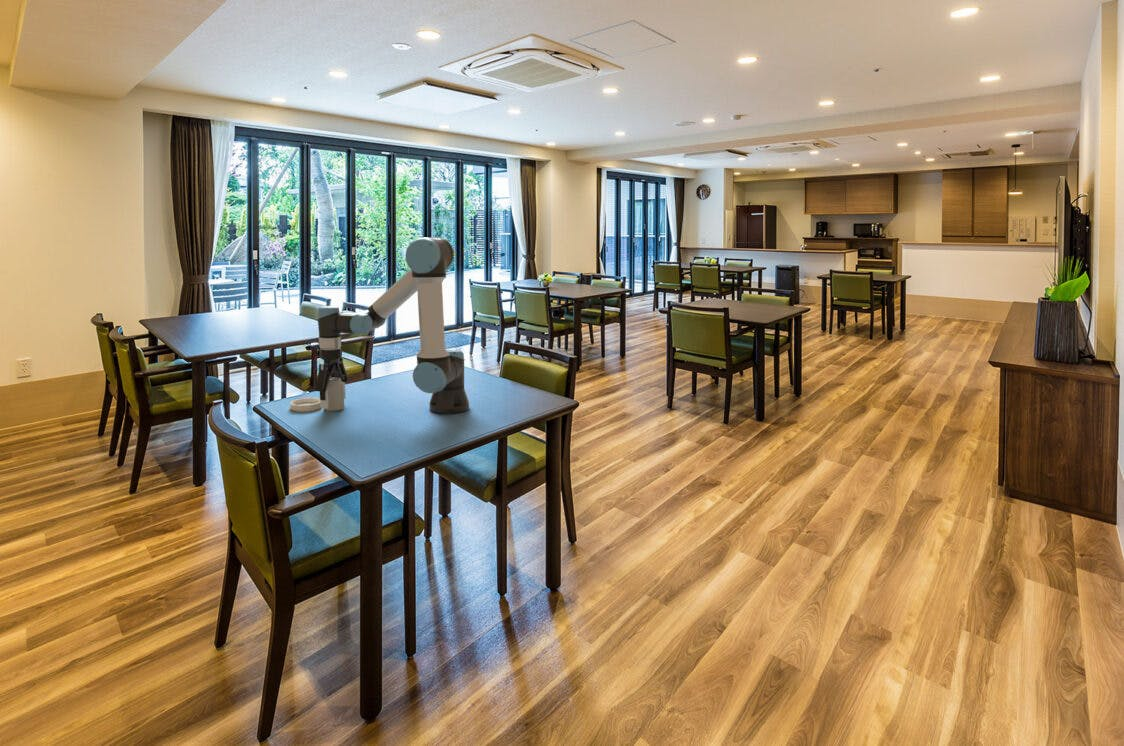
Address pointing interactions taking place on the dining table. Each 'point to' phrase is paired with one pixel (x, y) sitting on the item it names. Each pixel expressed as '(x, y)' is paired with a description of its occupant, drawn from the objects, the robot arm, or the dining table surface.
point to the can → (335, 395)
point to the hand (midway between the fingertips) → (333, 403)
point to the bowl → (305, 404)
